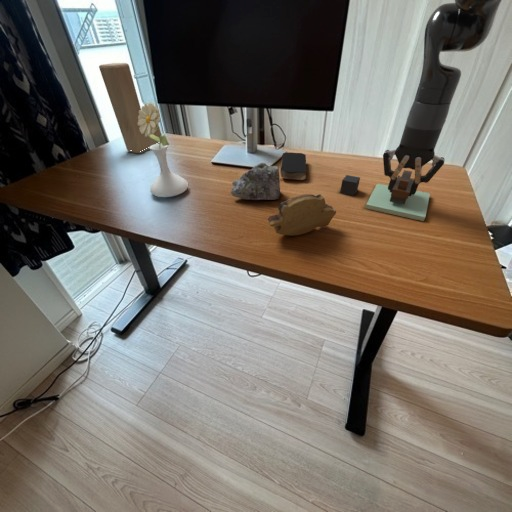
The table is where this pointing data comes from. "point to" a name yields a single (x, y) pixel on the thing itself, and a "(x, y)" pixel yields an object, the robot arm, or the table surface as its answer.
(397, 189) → the brown stepped block
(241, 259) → the table surface
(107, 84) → the decorative block
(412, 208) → the tray
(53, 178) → the table surface
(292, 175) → the black sponge
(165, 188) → the flower in vase
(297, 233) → the wooden carving
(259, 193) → the mineral rock
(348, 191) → the charcoal matte cube
